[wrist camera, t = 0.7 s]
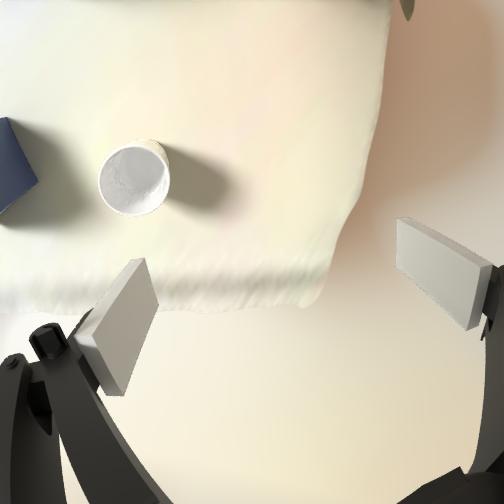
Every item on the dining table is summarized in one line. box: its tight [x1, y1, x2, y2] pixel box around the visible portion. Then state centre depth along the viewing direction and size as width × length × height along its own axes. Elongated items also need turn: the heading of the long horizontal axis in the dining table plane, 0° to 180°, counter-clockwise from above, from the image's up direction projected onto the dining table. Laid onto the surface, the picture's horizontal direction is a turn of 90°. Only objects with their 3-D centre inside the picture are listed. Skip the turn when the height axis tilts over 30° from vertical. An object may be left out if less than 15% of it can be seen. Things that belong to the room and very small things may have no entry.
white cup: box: [98, 139, 170, 217], centre depth 33 cm, size 8×8×10 cm
